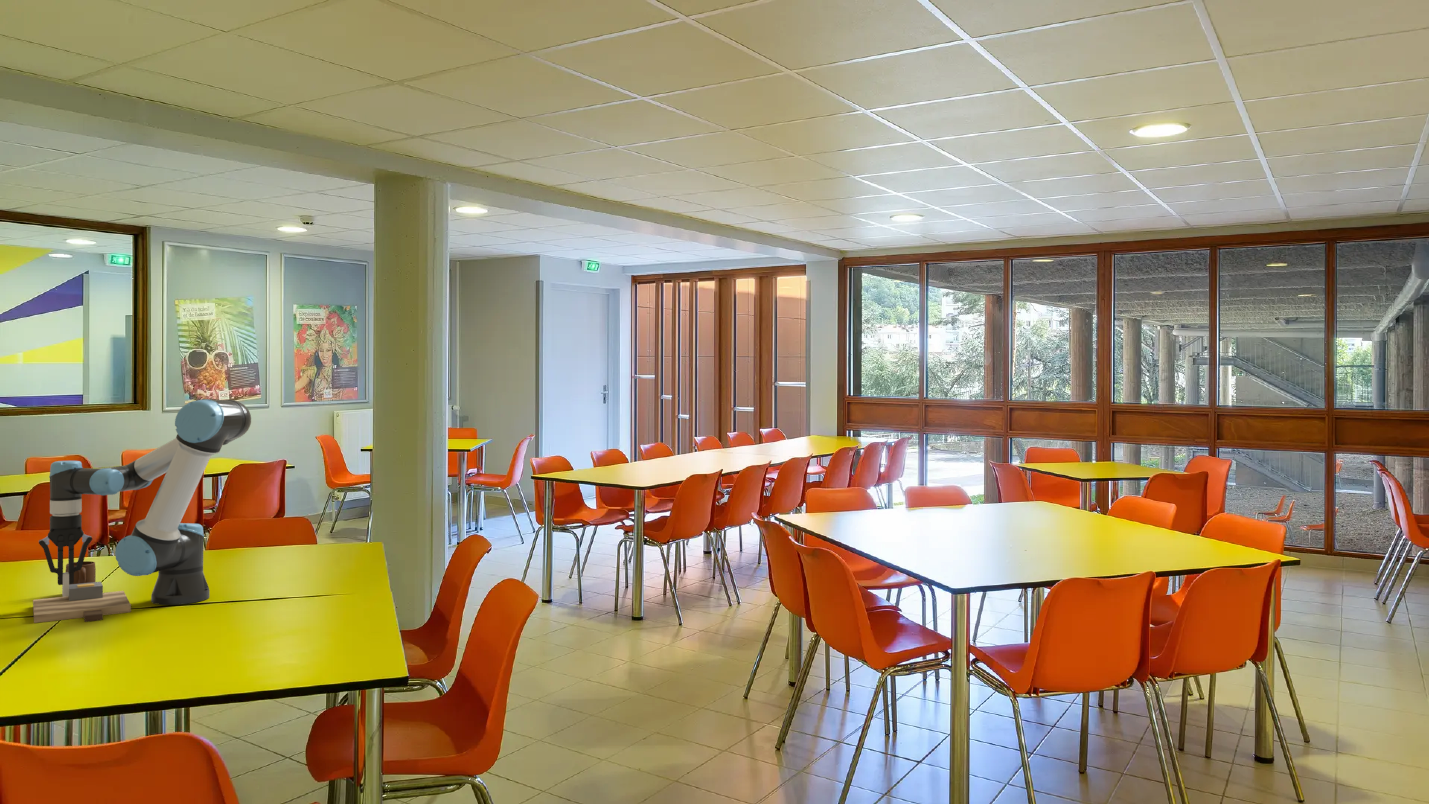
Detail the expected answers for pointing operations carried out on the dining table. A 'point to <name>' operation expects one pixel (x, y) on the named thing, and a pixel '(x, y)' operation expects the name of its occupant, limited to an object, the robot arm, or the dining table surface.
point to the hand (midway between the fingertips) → (65, 595)
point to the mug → (84, 573)
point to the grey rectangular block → (85, 591)
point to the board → (80, 607)
